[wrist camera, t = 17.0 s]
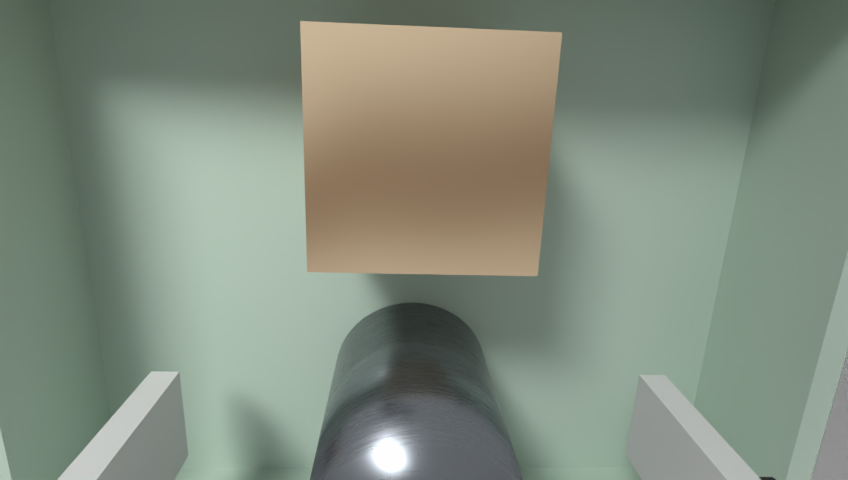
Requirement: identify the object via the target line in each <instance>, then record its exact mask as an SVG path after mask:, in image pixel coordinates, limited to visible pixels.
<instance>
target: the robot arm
mask: <svg viewBox="0 0 848 480" xmlns="http://www.w3.org/2000/svg"><path fill="white" fill-rule="evenodd" d="M626 456H627V457H628V459H629V460H630V462H631V464H632V465H633V467H634V469H635V470H636V472H637V473H638V475H639V477H640V478H641V480H776V479H775V478H773V477H758V476H757V475H756V473H755V472H754V471H753V470H752V469H751V468H750V467H749V466H748V465H747V464H746V463H745V461H744V460H743V459H742V458H741V457H740V456H739V455H738V454H737V453H736V452H735V451H734V450H733V448H732V447H731V446H730V445H729V444H728V443H727V442H726V441H725V440H724V439H723V438H722V436H721V435H720V434H719V433H718V432H717V431H716V430H715V429H714V428H713V427H712V426H711V425H710V423H709V422H708V421H707V420H706V419H705V418H704V417H703V416H702V415H701V414H700V413H699V411H698V410H697V409H696V408H695V407H694V406H693V405H692V404H691V403H690V402H689V401H688V400H687V398H686V397H685V396H684V395H683V394H682V393H681V392H680V391H679V390H678V389H677V388H676V386H675V385H674V384H673V383H672V382H671V381H670V380H669V379H668V378H667V377H666V376H665V375H639V380H638V386H637V392H636V398H635V404H634V410H633V416H632V422H631V428H630V434H629V440H628V446H627V452H626ZM187 457H188V447H187V438H186V429H185V419H184V410H183V400H182V391H181V382H180V372H163V371H151V372H150V373H149V375H148V376H147V377H146V378H145V379H144V380H143V381H142V383H141V384H140V385H139V386H138V387H137V388H136V390H135V391H134V392H133V393H132V394H131V395H130V396H129V398H128V399H127V400H126V401H125V402H124V403H123V405H122V406H121V407H120V408H119V409H118V410H117V411H116V413H115V414H114V415H113V416H112V417H111V418H110V420H109V421H108V422H107V423H106V424H105V425H104V426H103V428H102V429H101V430H100V431H99V432H98V433H97V435H96V436H95V437H94V438H93V439H92V440H91V441H90V443H89V444H88V445H87V446H86V447H85V448H84V450H83V451H82V452H81V453H80V454H79V455H78V456H77V458H76V459H75V460H74V461H73V462H72V463H71V465H70V466H69V467H68V468H67V469H66V470H65V471H64V473H63V474H62V475H61V476H60V477H59V478H58V480H175V478H176V476H177V474H178V473H179V471H180V469H181V467H182V466H183V464H184V462H185V460H186V459H187Z"/></svg>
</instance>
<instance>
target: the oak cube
mask: <svg viewBox="0 0 848 480" xmlns="http://www.w3.org/2000/svg"><path fill="white" fill-rule="evenodd" d="M300 34H301V70H302V106H303V142H304V177H305V213H306V249H307V272H324V273H380V274H437V275H493V276H538V267H539V257H540V248H541V238H542V228H543V218H544V208H545V198H546V189H547V179H548V169H549V159H550V149H551V139H552V129H553V120H554V110H555V100H556V90H557V80H558V70H559V61H560V51H561V41H562V32H543V31H519V30H496V29H473V28H450V27H427V26H404V25H380V24H357V23H334V22H311V21H300Z"/></svg>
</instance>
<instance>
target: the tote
mask: <svg viewBox="0 0 848 480" xmlns="http://www.w3.org/2000/svg"><path fill="white" fill-rule="evenodd" d="M300 21H311V22H334V23H357V24H380V25H404V26H427V27H450V28H473V29H496V30H519V31H543V32H562V41H561V51H560V61H559V70H558V80H557V90H556V100H555V110H554V120H553V129H552V139H551V149H550V159H549V169H548V179H547V189H546V198H545V208H544V218H543V228H542V238H541V248H540V257H539V267H538V276H493V275H437V274H380V273H324V272H307V249H306V213H305V177H304V142H303V106H302V70H301V34H300ZM400 303H424V304H430V305H433V306H437V307H440V308H442V309H445V310H447V311H449V312H451V313H452V314H454V315H456V316H457V317H459V318H460V319H461V320H462V321H464V322H465V323H466V324H467V325H468V326H469V328H470V329H471V330H472V331H473V333H474V334H475V335H476V337H477V339H478V341H479V343H480V345H481V348H482V351H483V354H484V357H485V360H486V363H487V367H488V370H489V373H490V376H491V379H492V383H493V386H494V389H495V392H496V395H497V398H498V402H499V405H500V408H501V411H502V414H503V417H504V421H505V424H506V427H507V430H508V433H509V436H510V440H511V443H512V446H513V449H514V452H515V455H516V459H517V462H518V465H519V468H520V471H521V474H522V478H523V480H641V478H640V477H639V475H638V473H637V472H636V470H635V469H634V467H633V465H632V464H631V462H630V460H629V459H628V457H627V456H626V452H627V446H628V440H629V434H630V428H631V422H632V416H633V410H634V404H635V398H636V392H637V386H638V380H639V375H665V376H666V377H667V378H668V379H669V380H670V381H671V382H672V383H673V384H674V385H675V386H676V388H677V389H678V390H679V391H680V392H681V393H682V394H683V395H684V396H685V397H686V398H687V400H688V401H689V402H690V403H691V404H692V405H693V406H694V407H695V408H696V409H697V410H698V411H699V413H700V414H701V415H702V416H703V417H704V418H705V419H706V420H707V421H708V422H709V423H710V425H711V426H712V427H713V428H714V429H715V430H716V431H717V432H718V433H719V434H720V435H721V436H722V438H723V439H724V440H725V441H726V442H727V443H728V444H729V445H730V446H731V447H732V448H733V450H734V451H735V452H736V453H737V454H738V455H739V456H740V457H741V458H742V459H743V460H744V461H745V463H746V464H747V465H748V466H749V467H750V468H751V469H752V470H753V471H754V472H755V473H756V475H757V476H758V477H773V478H775V479H776V480H811V477H812V473H813V470H814V466H815V463H816V460H817V456H818V453H819V449H820V446H821V442H822V439H823V435H824V432H825V428H826V425H827V421H828V418H829V414H830V411H831V407H832V404H833V400H834V397H835V393H836V390H837V386H838V383H839V380H840V376H841V373H842V369H843V366H844V362H845V359H846V355H847V352H848V0H0V480H58V478H59V477H60V476H61V475H62V474H63V473H64V471H65V470H66V469H67V468H68V467H69V466H70V465H71V463H72V462H73V461H74V460H75V459H76V458H77V456H78V455H79V454H80V453H81V452H82V451H83V450H84V448H85V447H86V446H87V445H88V444H89V443H90V441H91V440H92V439H93V438H94V437H95V436H96V435H97V433H98V432H99V431H100V430H101V429H102V428H103V426H104V425H105V424H106V423H107V422H108V421H109V420H110V418H111V417H112V416H113V415H114V414H115V413H116V411H117V410H118V409H119V408H120V407H121V406H122V405H123V403H124V402H125V401H126V400H127V399H128V398H129V396H130V395H131V394H132V393H133V392H134V391H135V390H136V388H137V387H138V386H139V385H140V384H141V383H142V381H143V380H144V379H145V378H146V377H147V376H148V375H149V373H150V372H151V371H163V372H180V382H181V391H182V400H183V410H184V419H185V429H186V438H187V447H188V457H187V459H186V460H185V462H184V464H183V466H182V467H181V469H180V471H179V473H178V474H177V476H176V478H175V480H310V476H311V472H312V467H313V463H314V459H315V454H316V450H317V445H318V441H319V436H320V432H321V428H322V423H323V419H324V414H325V410H326V405H327V401H328V396H329V392H330V388H331V383H332V379H333V374H334V370H335V365H336V361H337V357H338V353H339V350H340V347H341V345H342V343H343V341H344V339H345V338H346V336H347V335H348V333H349V332H350V331H351V329H352V328H353V327H354V326H355V325H356V324H357V323H358V322H360V321H361V320H362V319H363V318H365V317H366V316H368V315H369V314H371V313H372V312H375V311H377V310H379V309H381V308H384V307H387V306H390V305H395V304H400Z"/></svg>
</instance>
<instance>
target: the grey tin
mask: <svg viewBox="0 0 848 480" xmlns="http://www.w3.org/2000/svg"><path fill="white" fill-rule="evenodd" d="M310 480H523V478H522V474H521V471H520V468H519V465H518V462H517V459H516V455H515V452H514V449H513V446H512V443H511V440H510V436H509V433H508V430H507V427H506V424H505V421H504V417H503V414H502V411H501V408H500V405H499V402H498V398H497V395H496V392H495V389H494V386H493V383H492V379H491V376H490V373H489V370H488V367H487V363H486V360H485V357H484V354H483V351H482V348H481V345H480V343H479V341H478V339H477V337H476V335H475V334H474V333H473V331H472V330H471V329H470V328H469V326H468V325H467V324H466V323H465V322H464V321H462V320H461V319H460V318H459V317H457V316H456V315H454V314H452V313H451V312H449V311H447V310H445V309H442V308H440V307H437V306H433V305H430V304H424V303H400V304H395V305H390V306H387V307H384V308H381V309H379V310H377V311H375V312H372V313H371V314H369V315H368V316H366V317H365V318H363V319H362V320H361V321H360V322H358V323H357V324H356V325H355V326H354V327H353V328H352V329H351V331H350V332H349V333H348V335H347V336H346V338H345V339H344V341H343V343H342V345H341V347H340V350H339V353H338V357H337V361H336V365H335V370H334V374H333V379H332V383H331V388H330V392H329V396H328V401H327V405H326V410H325V414H324V419H323V423H322V428H321V432H320V436H319V441H318V445H317V450H316V454H315V459H314V463H313V467H312V472H311V476H310Z"/></svg>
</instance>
